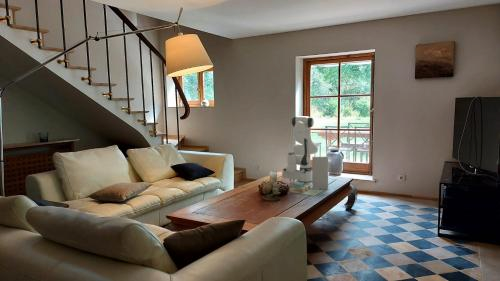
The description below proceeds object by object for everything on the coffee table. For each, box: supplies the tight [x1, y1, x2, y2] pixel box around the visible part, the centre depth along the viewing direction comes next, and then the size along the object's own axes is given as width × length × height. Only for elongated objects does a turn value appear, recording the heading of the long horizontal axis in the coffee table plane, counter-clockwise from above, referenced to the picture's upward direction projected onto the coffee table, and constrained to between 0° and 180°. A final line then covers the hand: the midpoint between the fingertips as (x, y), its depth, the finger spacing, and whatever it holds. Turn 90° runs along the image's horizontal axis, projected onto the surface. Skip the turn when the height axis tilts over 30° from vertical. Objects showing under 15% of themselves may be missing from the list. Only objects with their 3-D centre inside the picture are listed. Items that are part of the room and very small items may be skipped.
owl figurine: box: [261, 179, 281, 202], centre depth 297 cm, size 18×12×17 cm, turn 52°
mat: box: [302, 188, 325, 197], centre depth 316 cm, size 20×12×1 cm, turn 145°
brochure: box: [311, 156, 329, 190], centre depth 330 cm, size 14×6×30 cm, turn 84°
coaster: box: [292, 181, 306, 188], centre depth 324 cm, size 8×8×3 cm
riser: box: [289, 184, 311, 195], centre depth 323 cm, size 18×12×4 cm, turn 144°
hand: (292, 183), depth 328 cm, fingers closed
